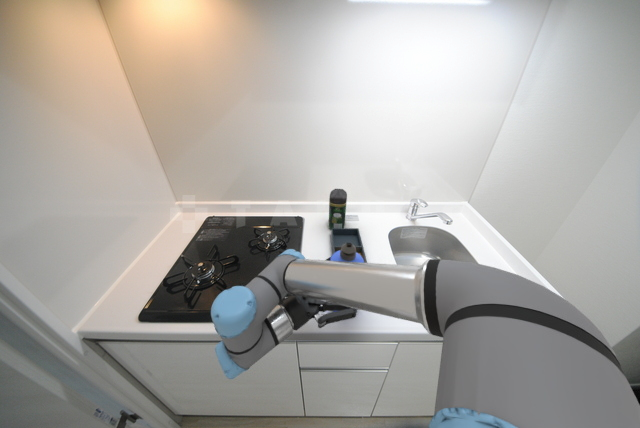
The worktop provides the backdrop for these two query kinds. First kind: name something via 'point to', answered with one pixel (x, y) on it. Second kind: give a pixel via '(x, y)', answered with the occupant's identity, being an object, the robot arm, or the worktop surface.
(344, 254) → the water bottle
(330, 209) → the coffee jar
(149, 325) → the worktop surface
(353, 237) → the dark grey shallow tray
